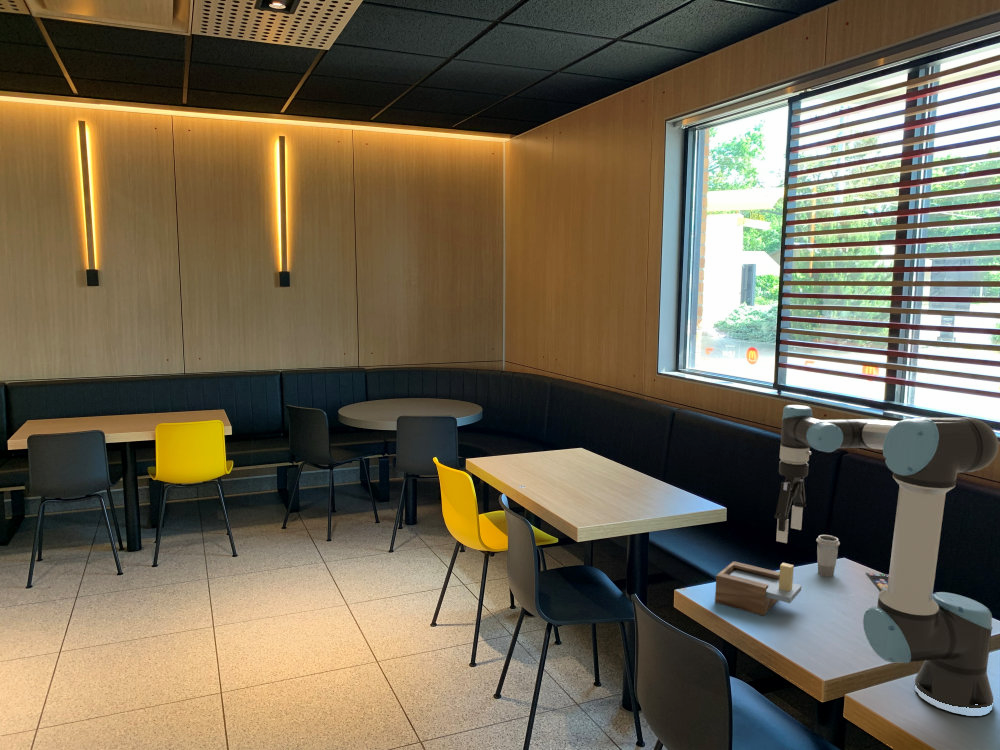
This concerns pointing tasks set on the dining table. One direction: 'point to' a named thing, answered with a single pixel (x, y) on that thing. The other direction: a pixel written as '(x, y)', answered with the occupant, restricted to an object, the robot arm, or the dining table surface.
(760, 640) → the dining table surface
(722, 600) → the case
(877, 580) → the smartphone
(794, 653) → the dining table surface
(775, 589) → the lid
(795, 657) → the dining table surface
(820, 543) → the cup
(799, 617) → the dining table surface
